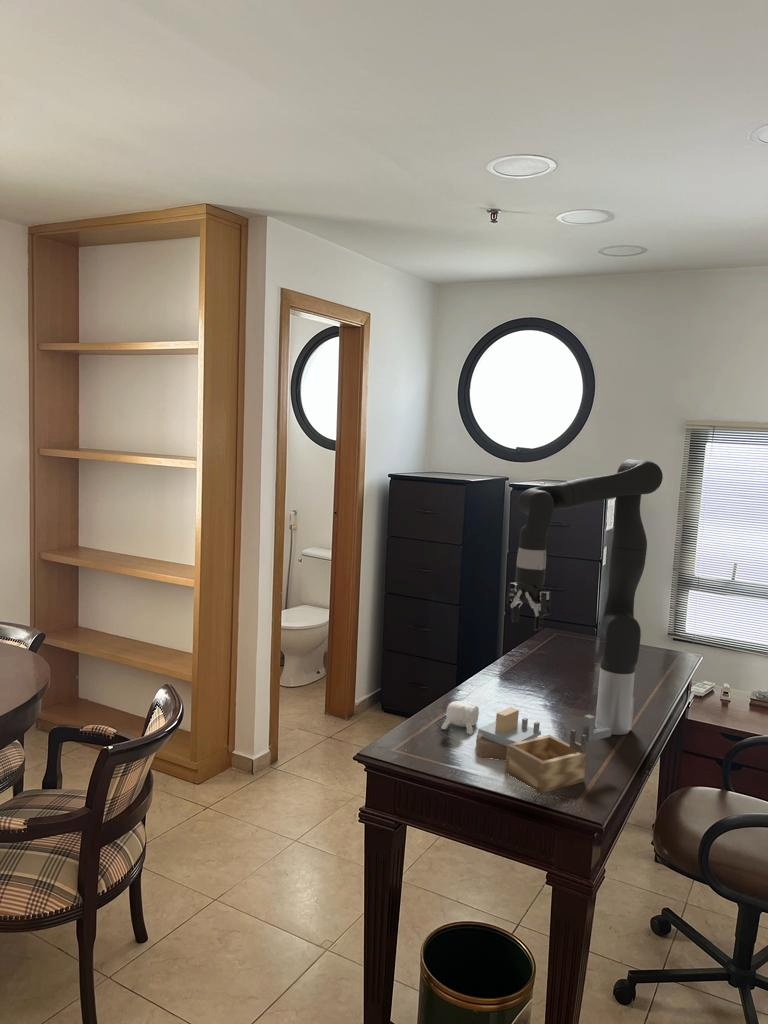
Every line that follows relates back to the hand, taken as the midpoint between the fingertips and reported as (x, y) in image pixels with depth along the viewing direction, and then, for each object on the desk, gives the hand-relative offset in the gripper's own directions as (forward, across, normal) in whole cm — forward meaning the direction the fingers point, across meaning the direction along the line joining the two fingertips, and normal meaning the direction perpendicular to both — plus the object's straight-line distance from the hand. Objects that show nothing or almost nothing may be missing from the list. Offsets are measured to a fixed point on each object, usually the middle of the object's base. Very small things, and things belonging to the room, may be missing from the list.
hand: (526, 625), depth 207 cm
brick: (+31, +8, -10) cm, 34 cm away
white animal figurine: (+30, -11, -12) cm, 34 cm away
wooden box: (+30, +22, -12) cm, 39 cm away
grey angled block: (+21, +26, +1) cm, 33 cm away
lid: (+25, +8, -10) cm, 28 cm away
